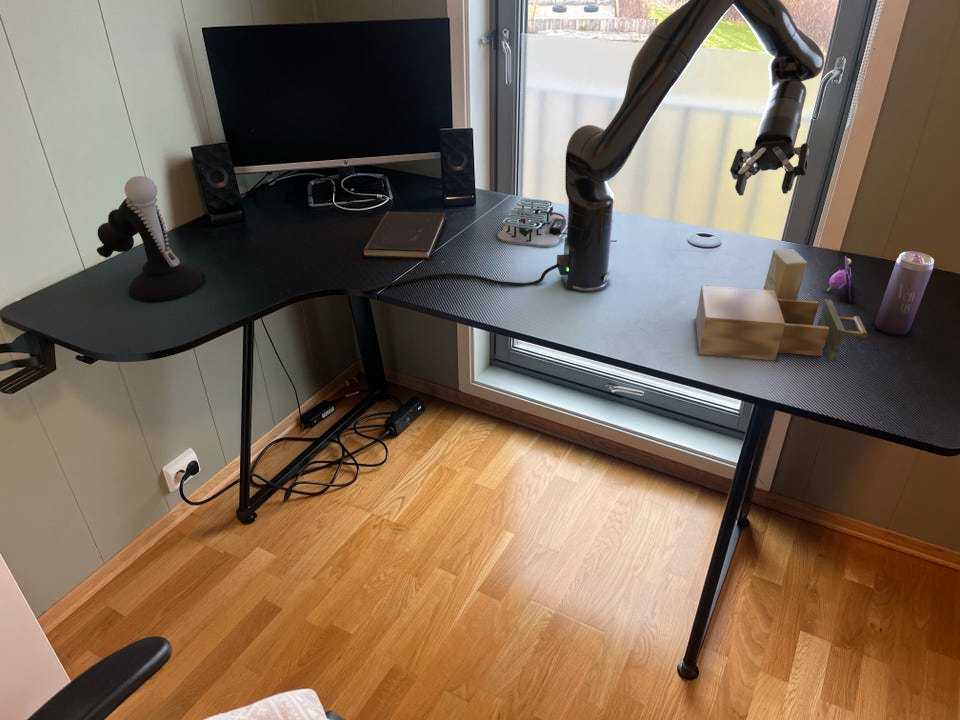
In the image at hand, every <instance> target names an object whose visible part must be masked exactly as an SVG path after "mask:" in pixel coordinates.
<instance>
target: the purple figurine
mask: <svg viewBox="0 0 960 720" xmlns="http://www.w3.org/2000/svg"><path fill="white" fill-rule="evenodd" d="M851 263H852V259H850V258H848V257H847V255H844V267H845V269H840V268H839V269H838V271H837V272H835V273H833V274H832V275H831V276H830V278H829V282H828V283H829V284H828V285H829V287H828V288H827V290H826V293H829V292H830V291H831V290H840V289H841V288H843V287H844V286H845V285H846V287H847V297H848V303H849V304H852V295H851V294H852V293H851V287H852V285H851V283H852V276H850V275H852V270H851V269H850V267H849V265H850V264H851Z"/></svg>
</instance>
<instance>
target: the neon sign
mask: <svg viewBox="0 0 960 720" xmlns="http://www.w3.org/2000/svg"><path fill="white" fill-rule="evenodd" d="M519 202H520V203H519ZM515 203H516V205H517V206H518V207H517V206H516V207H514V206H513V207H511V208H510V212H511V213H508V214H507V217H505V218H504V219H503V220H502V224H503V227H502V230H500V231H499V232H498V233H497V239H498V240H499V241H501V242H503V243H507V244H514V245H522V246H523V245H524V246H529V247H530V246H531V247H539V248H550V247H554V246H556V245H558V244H559V243H560V240H561V239H560V238H561V237H562V236H563V235H567V232H565V231H566V229H567V226H568V213H565V212H560V211H554V204H553V201H550V200H545V199H535V198H534V199H532V198H521V199H518V200H517V201H516V202H515ZM612 242H613V243H615V242H616V243H617V242H618V240H611V241H610V243H612Z"/></svg>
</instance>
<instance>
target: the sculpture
mask: <svg viewBox="0 0 960 720" xmlns="http://www.w3.org/2000/svg"><path fill="white" fill-rule="evenodd" d="M123 191H124V194H125V197H126V198H125V199H124V200H123V201H122V202H121V203H120V205H119V206H118V208H115V209H112V210H111V211H110V212H109V213H108V216H107V222H104V223H102V224H101V225H99V226H98V228H97V237H98V240H99V242H101V244H102V245H101V246H99V247H97V248H96V253H98V255H99V256H101V257H103V258H105V259H108V258H110V257H111V256H112V255H113V253H114V252H116V253H126V252H129V251H130V250H132V249H133V248H134V245H135V239H134V236H136V235H137V234H138V235H139V237H140V238H141V240H142V244H143V247H144V252H145V257H146V262H144V264H143V265H142V267H141V270H142V271H141V272H139V273H138V274H137V275H136V276H135V278H133V280H132V282H131V283H130V285H129V291H130V294H131V296H132V297H133V298H134V299H136V300H138V301H142V302H149V303H151V302H152V303H154V302H156V303H157V302H166V301H171V300H176V299H179V298H182V297H184V296H187V295H188V294H190V293H193V292H194V291H196V290H197V289H198V288H199V287H200V286H201V285H202V283H203V280H204V279H203V274H202V271H200V269H198V268H196V267H194V266H192V265H190V264H186V263H183V262H181V260H180V259H179V258H178V257H177V256H176V254H174V252H173V250H172V249H171V248H170V246H169V245H170V243H169V242H168V241H169V238H168V234H167V233H168V231H167V226H166V225H165V224H166V223H165V221H163V220H164V218H163V217H162V216H163V214H162V213H160V212H161V209H160V208H159V205H158V204H157V203H158V198H157V195H158V186H157V185H156V183H155V182H154V181H153V179H151V178H149V177H147V176H144V175H137V176H132V177H131V178H129V179H128V180H127V181H126V182H125V185H124V189H123Z"/></svg>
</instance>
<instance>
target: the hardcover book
mask: <svg viewBox="0 0 960 720" xmlns="http://www.w3.org/2000/svg"><path fill="white" fill-rule="evenodd" d="M445 213H446V212H427V211H426V212H422V211H392V210H391V211H389V210H388V211H386V212H385V213H384V215H383V216H382V218H381V219H380V221H379V223H378V225H377V226H376V228H375V229H374V231H373V233H372V234H371V235H370V238H369V239H368V241H367V243H366V244H365V246H364V247H363V249H362V254H363V257H365V258H381V259H405V260H406V259H407V260H408V259H410V260H411V259H412V260H430V258H431V256H432V254H433V252H434V249H435V246H436V244H437V241H438V239H439V237H440V235H441V232H442V230H443V227H444V224H445V223H446V219H444V218H445Z"/></svg>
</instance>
